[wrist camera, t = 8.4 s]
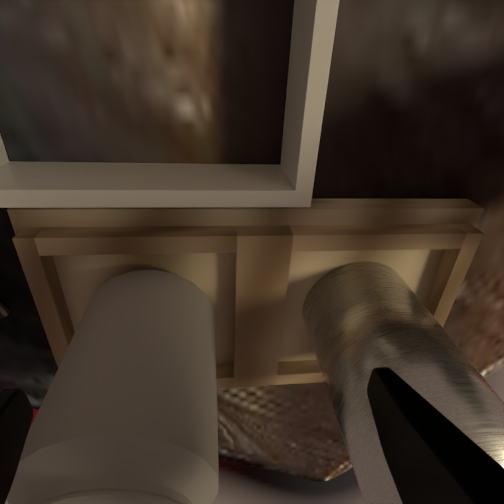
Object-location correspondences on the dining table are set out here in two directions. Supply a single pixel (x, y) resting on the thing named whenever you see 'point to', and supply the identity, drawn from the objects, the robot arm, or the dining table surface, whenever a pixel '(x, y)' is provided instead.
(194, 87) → the dining table surface
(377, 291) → the steel billet
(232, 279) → the wooden divided tray
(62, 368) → the can
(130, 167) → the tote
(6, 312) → the mobile phone
